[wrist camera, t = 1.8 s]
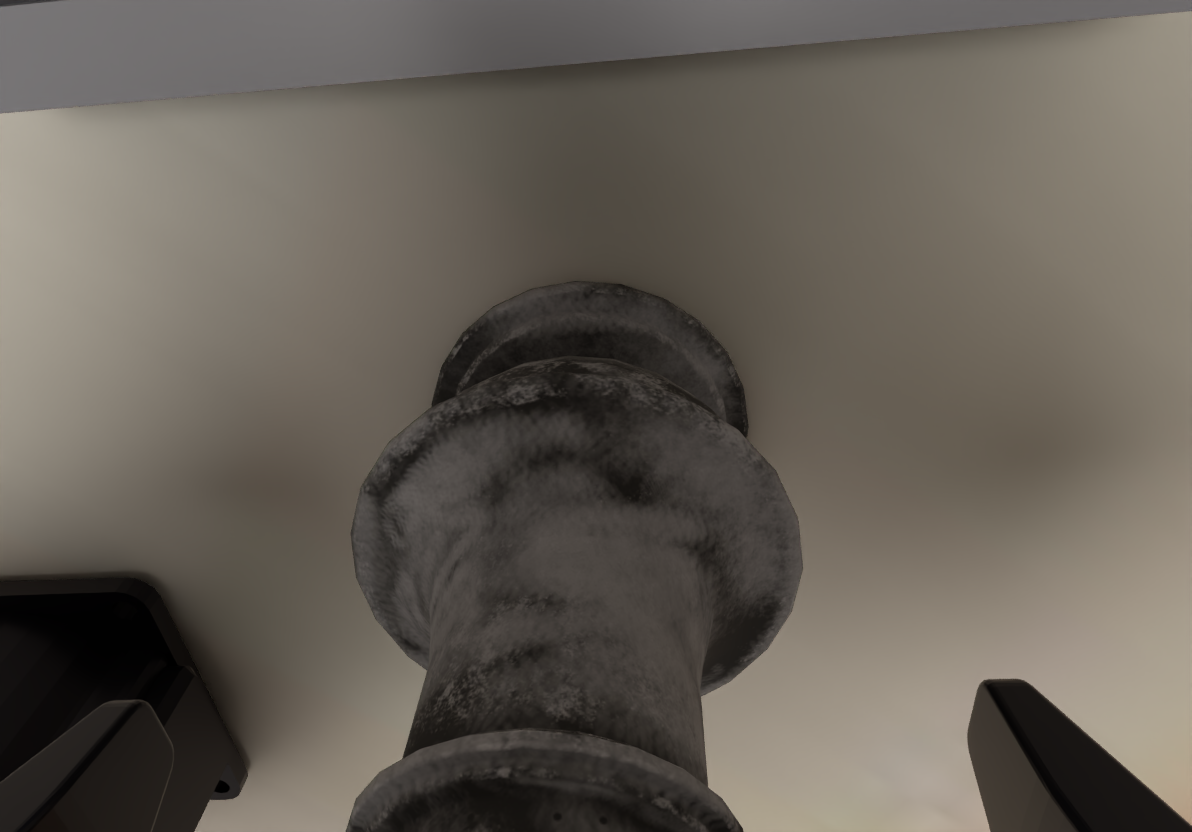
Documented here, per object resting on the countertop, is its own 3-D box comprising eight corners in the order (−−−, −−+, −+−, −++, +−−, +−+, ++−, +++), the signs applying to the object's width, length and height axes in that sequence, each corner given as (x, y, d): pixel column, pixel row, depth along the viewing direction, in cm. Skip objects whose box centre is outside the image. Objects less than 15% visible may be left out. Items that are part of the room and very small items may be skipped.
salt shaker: (382, 272, 12) (-940, 2060, 2) (773, 252, 12) (1667, 2434, 2) (446, 564, 15) (55, 1863, 5) (759, 557, 15) (1027, 1963, 5)
